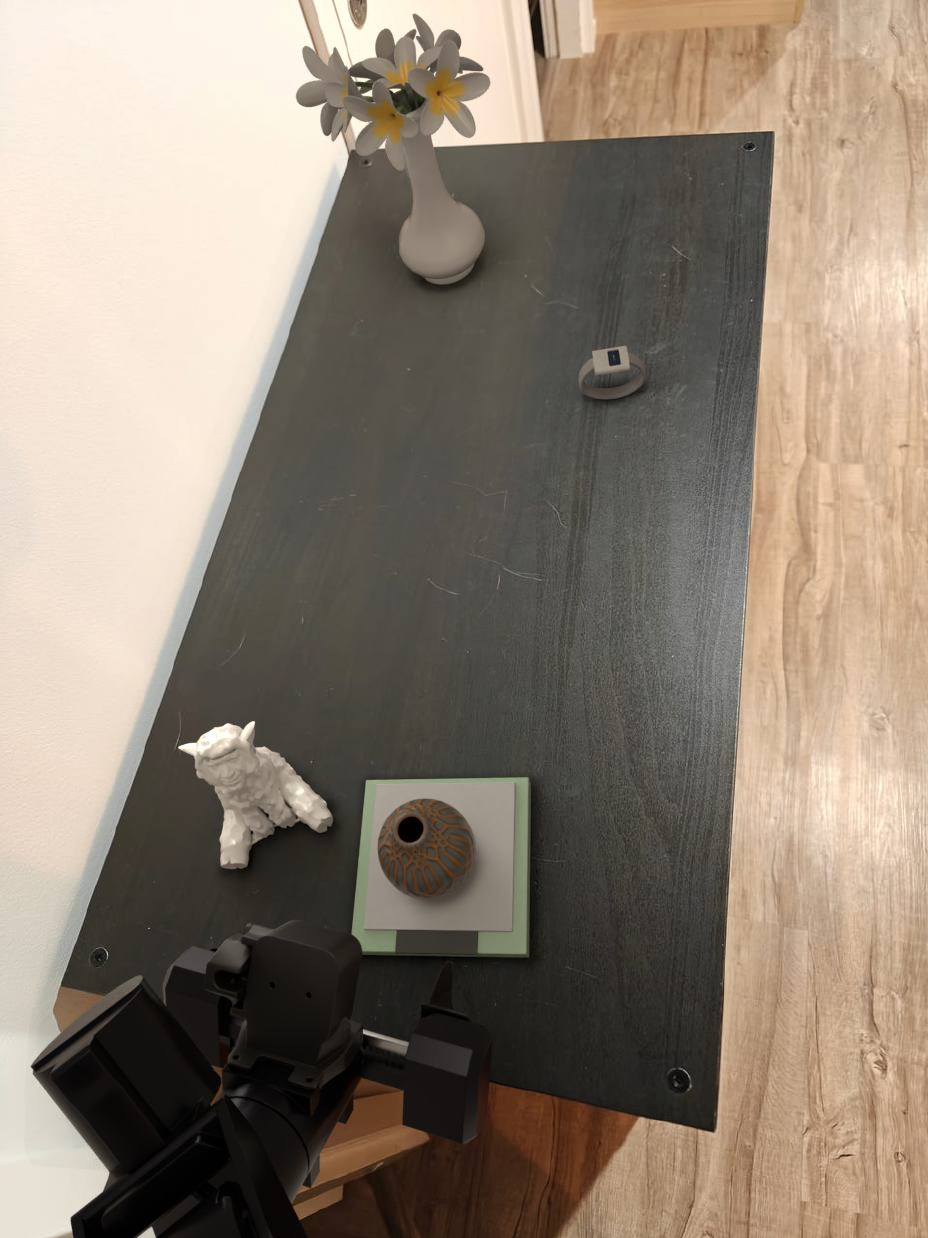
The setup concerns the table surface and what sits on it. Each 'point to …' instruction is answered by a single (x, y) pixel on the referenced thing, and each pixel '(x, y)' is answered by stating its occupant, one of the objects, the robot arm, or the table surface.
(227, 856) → the sitting furry creature
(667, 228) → the table surface
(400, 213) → the table surface
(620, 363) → the wristwatch
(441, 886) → the vase
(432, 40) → the flower vase
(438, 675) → the table surface
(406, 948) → the scale
